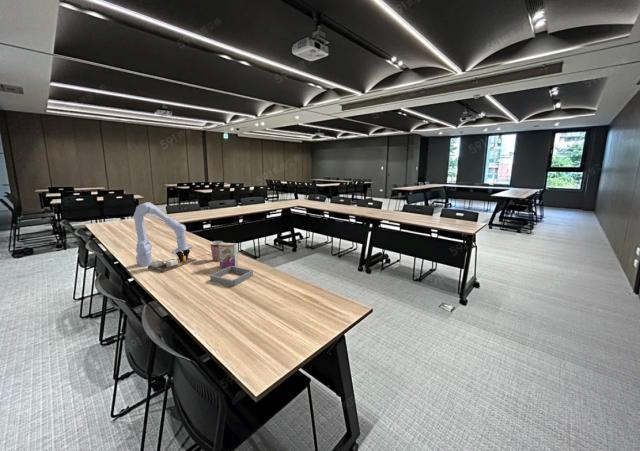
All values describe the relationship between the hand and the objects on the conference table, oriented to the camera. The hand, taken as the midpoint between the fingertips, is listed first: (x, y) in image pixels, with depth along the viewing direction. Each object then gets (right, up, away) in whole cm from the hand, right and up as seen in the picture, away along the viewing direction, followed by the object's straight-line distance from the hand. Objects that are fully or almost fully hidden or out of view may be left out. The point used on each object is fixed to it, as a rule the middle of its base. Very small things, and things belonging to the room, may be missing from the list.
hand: (183, 260), depth 191 cm
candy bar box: (+33, -4, -4) cm, 34 cm away
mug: (+22, -1, +10) cm, 24 cm away
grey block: (-13, -4, -10) cm, 16 cm away
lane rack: (-5, -3, -3) cm, 7 cm away
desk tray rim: (+42, -8, -23) cm, 48 cm away
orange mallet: (-2, -2, -4) cm, 5 cm away
